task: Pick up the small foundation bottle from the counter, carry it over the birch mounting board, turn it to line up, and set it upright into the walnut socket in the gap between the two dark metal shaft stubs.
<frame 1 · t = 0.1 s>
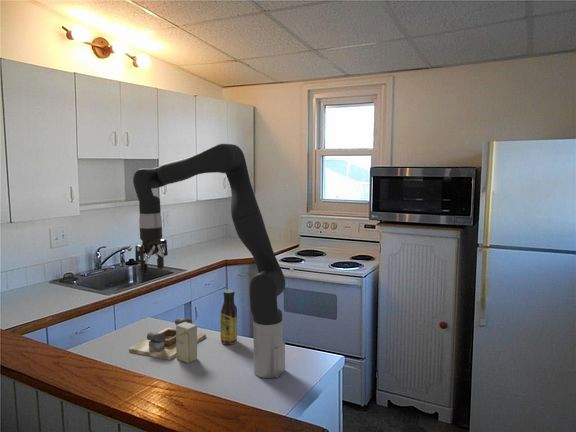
hand: (152, 271, 159), 29 cm above the counter, fingers open, 8 cm apart
sauce bottle: (229, 342, 169), on the counter
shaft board: (168, 344, 168), on the counter
skincare box: (187, 359, 155), on the counter
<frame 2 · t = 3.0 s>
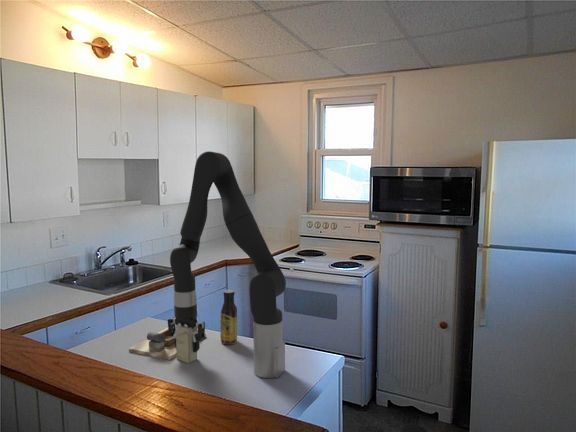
hand: (187, 349, 155), 3 cm above the counter, fingers closed on skincare box, 6 cm apart
skincare box: (187, 359, 155), on the counter, touching gripper
everything else where it was.
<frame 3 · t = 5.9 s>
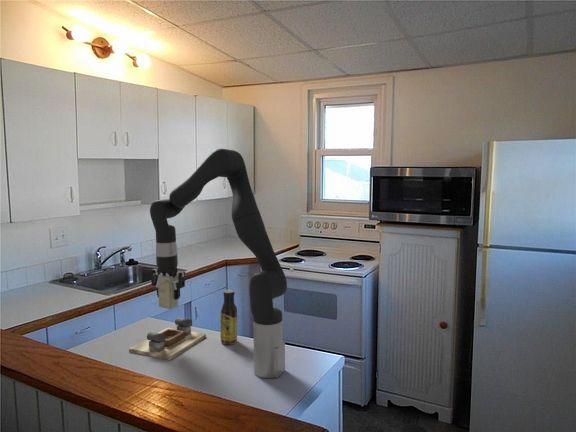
hand: (168, 298, 166), 18 cm above the counter, fingers closed on skincare box, 6 cm apart
skincare box: (169, 307, 166), point 14 cm above the counter, touching gripper
everything else where it was.
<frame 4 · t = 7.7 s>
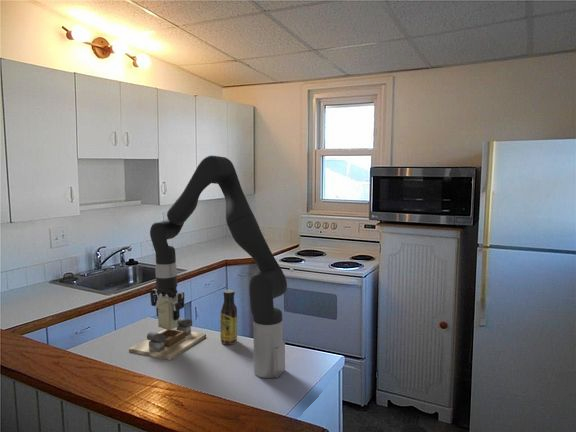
hand: (168, 318, 167), 10 cm above the counter, fingers closed on skincare box, 6 cm apart
skincare box: (168, 327, 167), point 6 cm above the counter, touching gripper
everything else where it was.
when the fingers open (7 cm above the counter, at t = 9.0 s): skincare box stays where it is, resting on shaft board.
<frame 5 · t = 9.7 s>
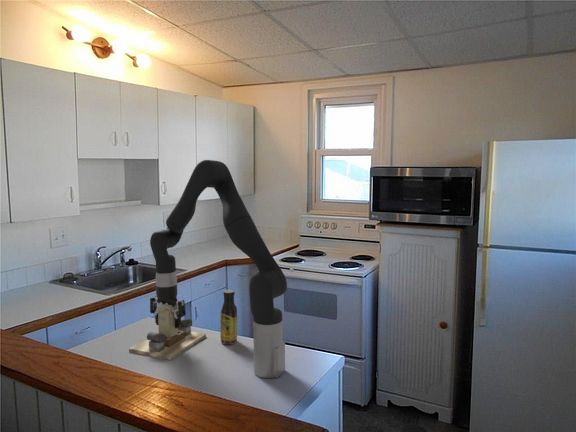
hand: (168, 326, 167), 7 cm above the counter, fingers open, 8 cm apart
skincare box: (168, 335, 167), point 3 cm above the counter, touching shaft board
everything else where it was.
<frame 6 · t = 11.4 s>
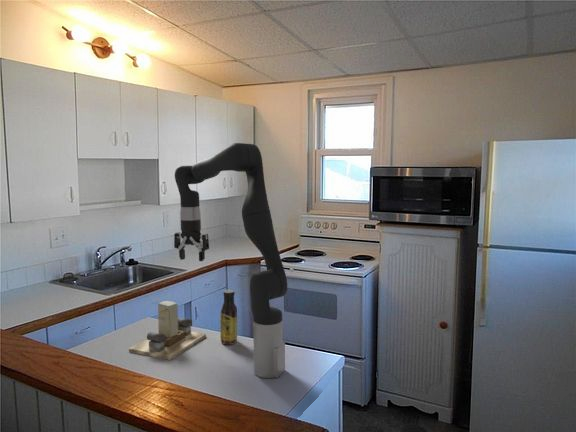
hand: (191, 260, 173), 30 cm above the counter, fingers open, 8 cm apart
nothing on the counter moved.
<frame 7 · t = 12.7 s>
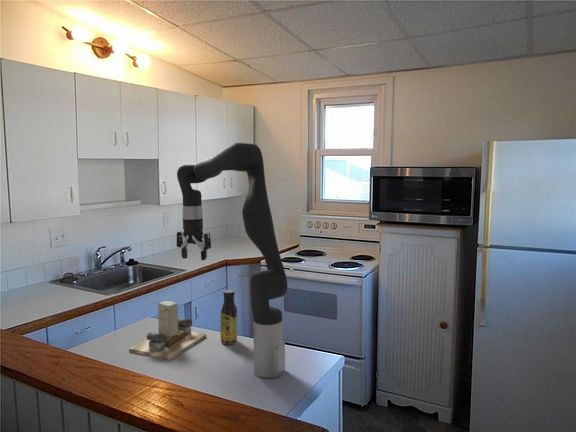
hand: (194, 259, 174), 30 cm above the counter, fingers open, 8 cm apart
nothing on the counter moved.
at the end: skincare box 0.1 cm off-centre on the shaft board, point 3.5 cm above the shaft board's base; skincare box tilted 0°; the gripper is holding nothing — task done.
